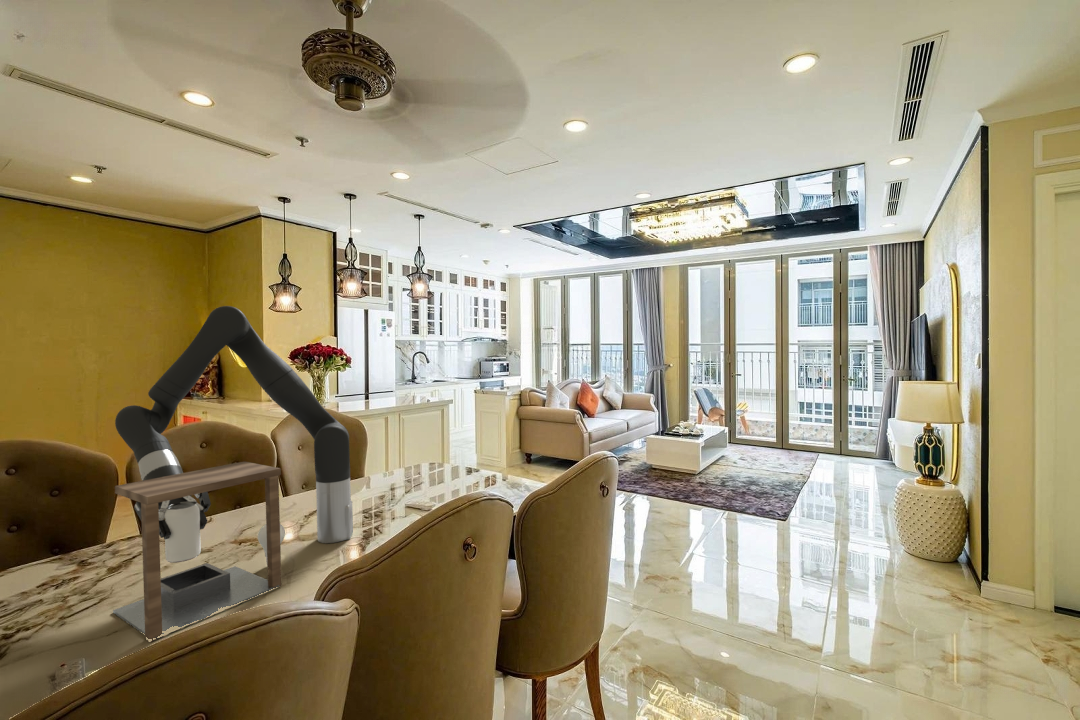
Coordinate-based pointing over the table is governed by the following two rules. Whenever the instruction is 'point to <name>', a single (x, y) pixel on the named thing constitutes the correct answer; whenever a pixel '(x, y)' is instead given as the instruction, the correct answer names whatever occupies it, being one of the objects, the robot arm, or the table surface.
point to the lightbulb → (263, 537)
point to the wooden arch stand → (188, 485)
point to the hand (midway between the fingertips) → (186, 531)
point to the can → (183, 532)
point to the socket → (197, 595)
